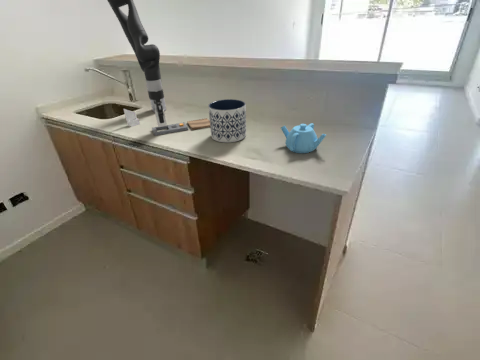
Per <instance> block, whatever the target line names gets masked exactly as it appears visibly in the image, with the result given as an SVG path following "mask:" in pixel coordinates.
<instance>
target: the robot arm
mask: <svg viewBox="0 0 480 360" xmlns="http://www.w3.org/2000/svg"><path fill="white" fill-rule="evenodd" d="M107 3H108V4H109V6H110V8H111V9H112V11H113V14H115V17H116V19H117V21H118V22H119V24H120V26H121V29H122V30H123V33H124V35H125V37H126V38H127V41H128V42H129V45H130V46H131V49H132V50H133V52H134V55H135V57H136V60H137V62H138V64H139V67H140V69H141V71H142V72H143V73H144V77H145V83H146V89H147V93H148V94H147V95H148V98H149V101H150V105H151V111H152V112H154V113H155V110H156V112H158V116H159V121H160V123H164V118H163V116H164V114H163V110H164V112H165V111H166V110H167V105H166V99H165V94H164V89H163V83H162V75H161V68H160V58H161V53H160V49H159V47H158V46H157V45H156V44H152V43H151V44H147V43H148V42H149V36H148V34H147V31H146V29H145V27H144V26H143V23H142V21H141V18H140V16H139V13H138V10H137V8H136V4H135V2H134V0H107ZM124 6H127V7H128V13H127V14H125V12H123V11H122V9H121V8H122V7H124ZM160 112H162V114H159V113H160Z"/></svg>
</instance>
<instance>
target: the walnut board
mask: <svg viewBox="0 0 480 360" xmlns="http://www.w3.org/2000/svg"><path fill="white" fill-rule="evenodd" d="M186 122H187V124H186V125H187V126H189V128H190V129H191V131H194V130H200V129H207V128H210V119H208V117H207V118H205V117H204V118H201V119H194V120H188V121H186Z"/></svg>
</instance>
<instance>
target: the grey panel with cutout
mask: <svg viewBox="0 0 480 360" xmlns="http://www.w3.org/2000/svg"><path fill="white" fill-rule="evenodd" d="M151 130H152V133H153V135H155V136H160V134H161V135H167V134H172V133H177V132H178V133H179V132H183V131H189V127H188V124H186V123H185V122H178V123H171V124H167V126H162V127H158V126H153V127H151Z"/></svg>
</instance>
